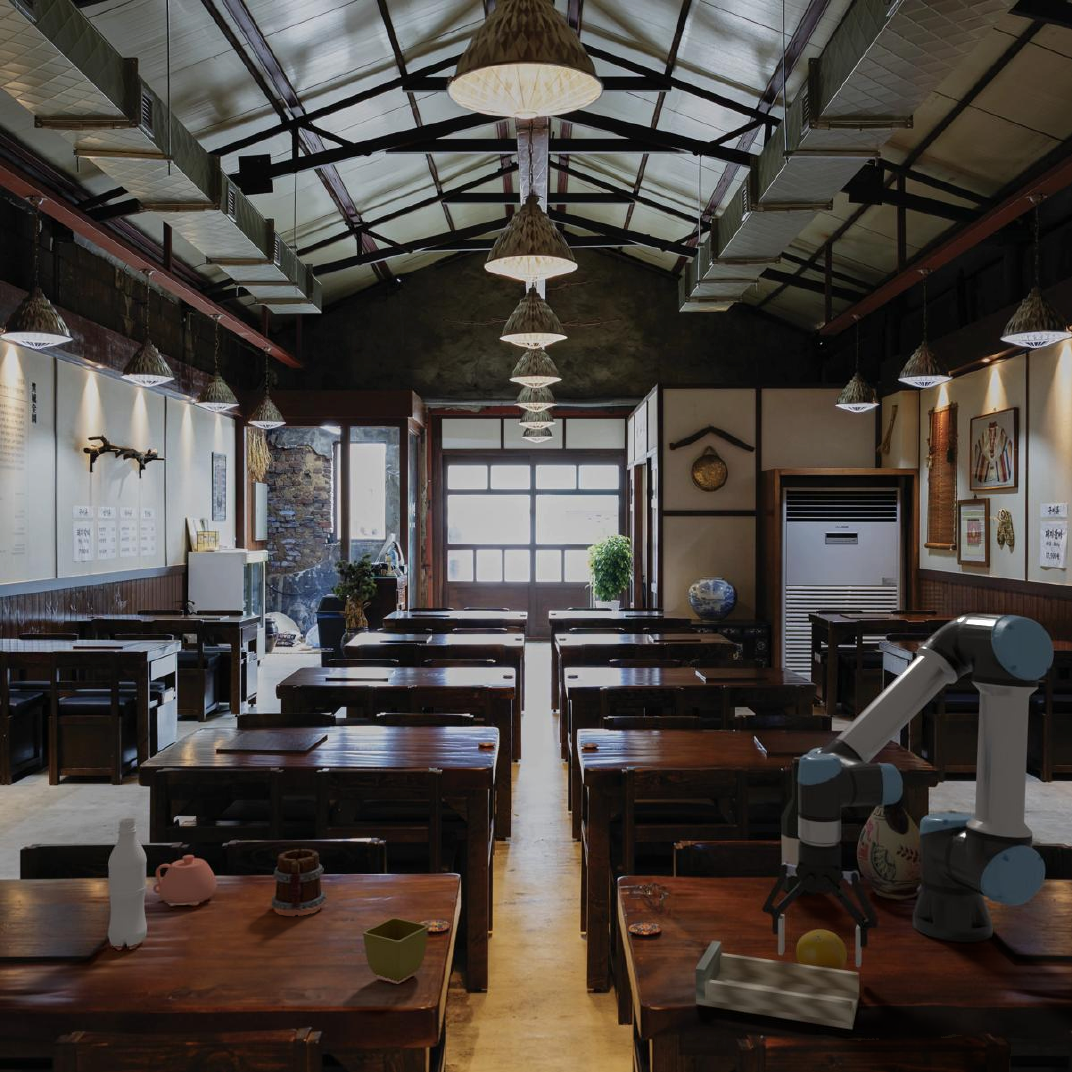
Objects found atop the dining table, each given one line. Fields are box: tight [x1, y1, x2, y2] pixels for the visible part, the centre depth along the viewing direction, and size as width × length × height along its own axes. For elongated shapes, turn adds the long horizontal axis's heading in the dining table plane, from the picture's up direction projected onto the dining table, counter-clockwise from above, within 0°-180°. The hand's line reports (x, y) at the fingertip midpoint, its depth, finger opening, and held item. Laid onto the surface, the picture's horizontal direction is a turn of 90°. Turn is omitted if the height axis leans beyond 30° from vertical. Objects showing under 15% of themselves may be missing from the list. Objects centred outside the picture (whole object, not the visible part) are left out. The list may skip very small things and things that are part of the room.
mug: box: [270, 848, 327, 910], centre depth 219 cm, size 12×14×15 cm
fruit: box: [795, 928, 848, 970], centre depth 183 cm, size 9×8×8 cm
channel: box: [694, 940, 860, 1030], centre depth 173 cm, size 26×13×6 cm, turn 68°
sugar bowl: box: [152, 854, 218, 903], centre depth 226 cm, size 12×14×10 cm
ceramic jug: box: [856, 762, 921, 901], centre depth 226 cm, size 17×15×30 cm
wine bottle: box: [780, 756, 818, 896], centre depth 230 cm, size 8×8×30 cm
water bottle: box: [107, 817, 148, 947], centre depth 200 cm, size 7×7×25 cm
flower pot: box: [362, 917, 429, 982], centre depth 183 cm, size 9×9×9 cm
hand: (819, 958), depth 182 cm, fingers open, 13 cm apart
